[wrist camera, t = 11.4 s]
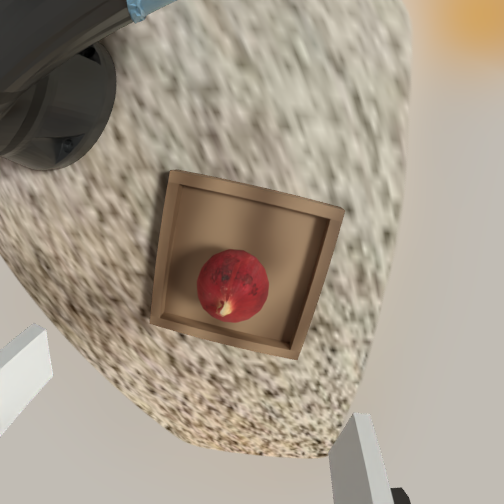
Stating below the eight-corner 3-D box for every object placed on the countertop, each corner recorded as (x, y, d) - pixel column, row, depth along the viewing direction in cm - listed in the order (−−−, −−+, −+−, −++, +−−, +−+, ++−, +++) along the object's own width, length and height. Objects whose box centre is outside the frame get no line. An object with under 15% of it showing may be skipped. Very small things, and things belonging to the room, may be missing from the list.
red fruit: (207, 237, 28) (182, 266, 21) (272, 242, 28) (269, 272, 20) (207, 297, 30) (185, 340, 22) (268, 302, 30) (263, 348, 22)
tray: (156, 314, 32) (149, 323, 30) (177, 169, 28) (170, 170, 26) (296, 349, 32) (297, 360, 30) (340, 207, 27) (345, 210, 25)
